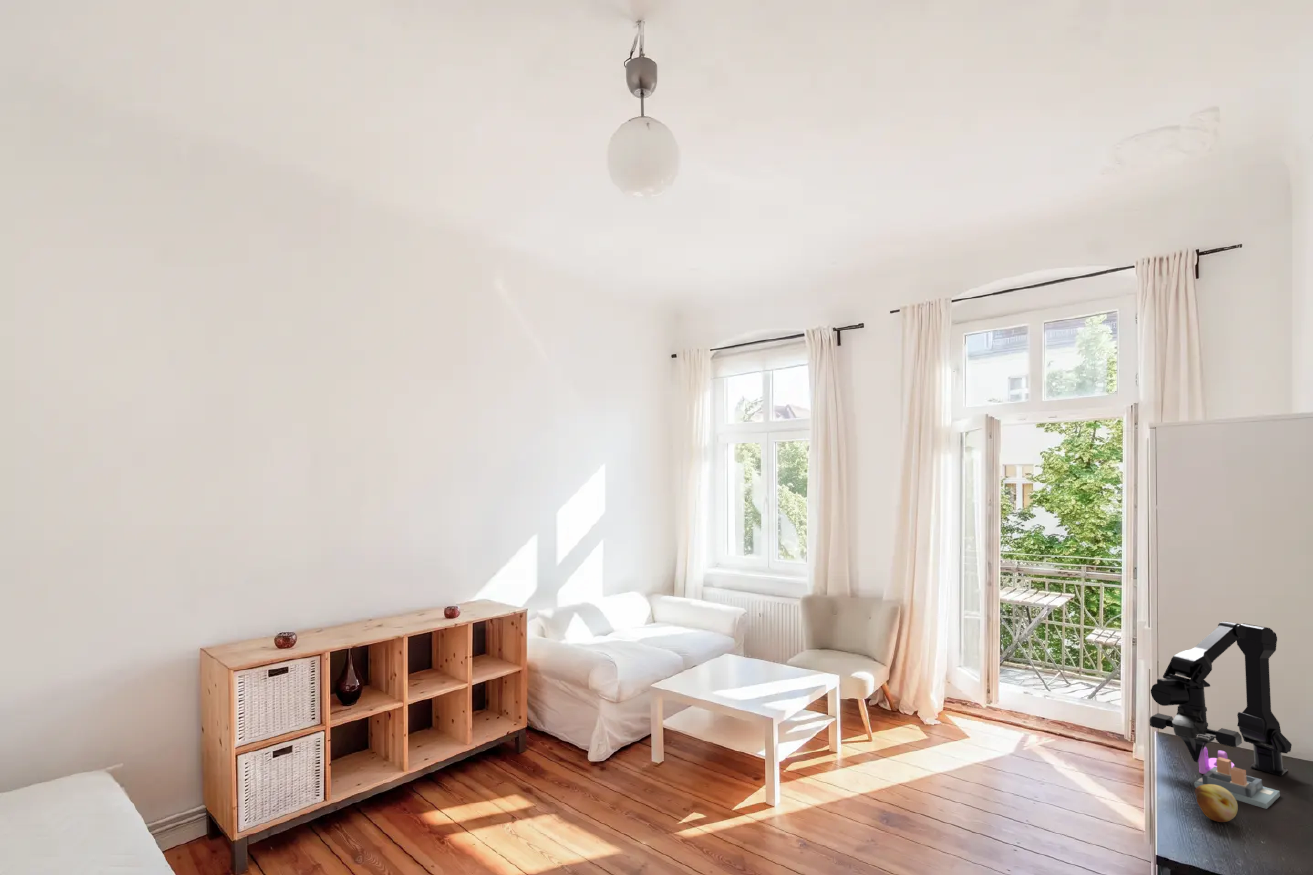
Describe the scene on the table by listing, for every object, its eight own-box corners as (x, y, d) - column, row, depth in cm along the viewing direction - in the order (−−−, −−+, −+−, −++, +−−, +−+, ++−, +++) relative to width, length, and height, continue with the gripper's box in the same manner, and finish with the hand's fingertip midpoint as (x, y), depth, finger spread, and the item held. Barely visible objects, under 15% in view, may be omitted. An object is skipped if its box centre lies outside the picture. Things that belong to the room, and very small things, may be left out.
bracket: (1226, 780, 170) (1223, 753, 171) (1199, 773, 175) (1197, 747, 175) (1236, 767, 178) (1234, 742, 179) (1211, 761, 183) (1209, 736, 183)
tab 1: (1219, 775, 169) (1218, 756, 170) (1234, 779, 167) (1232, 760, 167) (1216, 778, 168) (1214, 758, 168) (1230, 782, 165) (1229, 762, 166)
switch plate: (1209, 775, 173) (1208, 763, 173) (1279, 795, 161) (1278, 782, 161) (1194, 787, 166) (1193, 774, 166) (1266, 808, 154) (1265, 795, 155)
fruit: (1199, 823, 148) (1196, 787, 149) (1194, 808, 155) (1192, 774, 155) (1242, 832, 143) (1239, 796, 144) (1236, 817, 150) (1233, 782, 151)
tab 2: (1234, 786, 163) (1232, 766, 164) (1249, 790, 161) (1247, 770, 161) (1230, 789, 162) (1228, 768, 162) (1245, 793, 159) (1244, 773, 160)
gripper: (1140, 699, 177) (1144, 756, 176) (1226, 718, 162) (1231, 781, 160) (1155, 692, 183) (1159, 747, 182) (1239, 710, 168) (1245, 771, 166)
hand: (1196, 761), depth 172 cm, fingers closed
